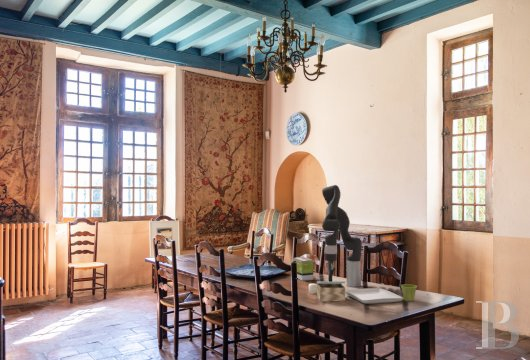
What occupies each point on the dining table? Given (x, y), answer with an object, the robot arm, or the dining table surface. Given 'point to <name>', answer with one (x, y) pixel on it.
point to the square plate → (373, 295)
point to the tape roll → (312, 288)
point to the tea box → (304, 268)
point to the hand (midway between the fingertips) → (330, 281)
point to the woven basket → (330, 292)
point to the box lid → (330, 282)
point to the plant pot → (408, 292)
